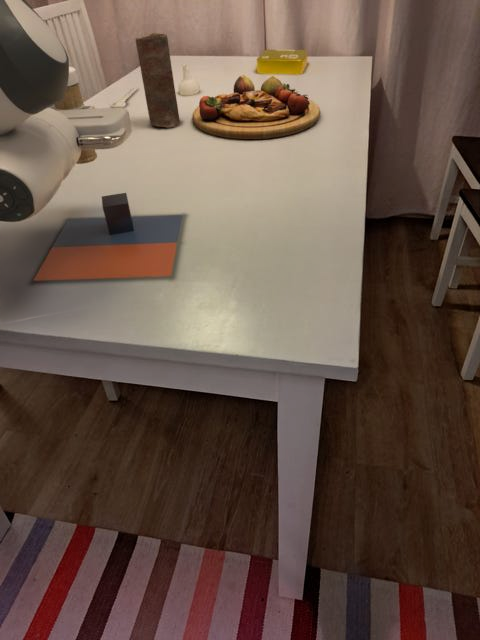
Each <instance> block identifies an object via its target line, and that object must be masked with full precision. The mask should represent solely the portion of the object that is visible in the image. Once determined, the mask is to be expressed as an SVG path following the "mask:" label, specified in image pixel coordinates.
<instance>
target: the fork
mask: <svg viewBox="0 0 480 640" xmlns="http://www.w3.org/2000/svg"><path fill="white" fill-rule="evenodd" d="M137 90H138V89H137V87H134V88H133V89H131V90H130V91H129V92H127V94H125V95H124V96H123V97H122V98H121V99H119V100H118V101H117V102H116V103H115V104H109V106H110V108H118V107H122V108H125V106H126V105H127V103H126V101H127V100H128V99H129V98H131V96H132V95H133V94H135V92H136V91H137Z"/></svg>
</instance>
